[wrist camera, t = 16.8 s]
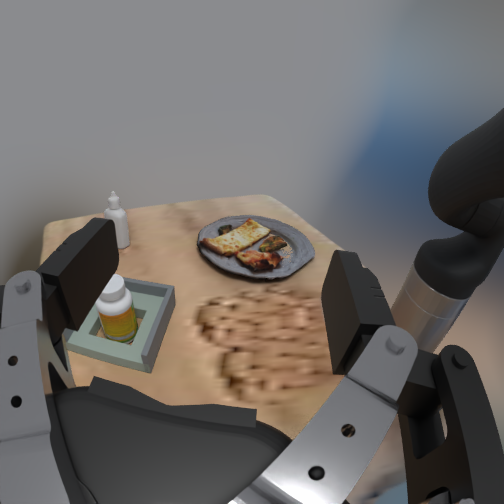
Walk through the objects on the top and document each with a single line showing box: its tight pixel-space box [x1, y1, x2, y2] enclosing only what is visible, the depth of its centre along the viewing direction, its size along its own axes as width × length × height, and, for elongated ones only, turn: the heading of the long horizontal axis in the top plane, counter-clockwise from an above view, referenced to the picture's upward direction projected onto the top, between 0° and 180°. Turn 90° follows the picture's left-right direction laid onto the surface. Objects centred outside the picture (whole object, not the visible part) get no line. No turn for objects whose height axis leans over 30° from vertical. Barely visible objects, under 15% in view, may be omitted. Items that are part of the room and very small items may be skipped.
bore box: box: [63, 277, 175, 373], centre depth 40 cm, size 14×14×4 cm
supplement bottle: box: [95, 274, 138, 344], centre depth 37 cm, size 5×5×10 cm
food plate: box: [197, 215, 315, 281], centre depth 63 cm, size 25×23×4 cm
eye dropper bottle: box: [104, 191, 130, 249], centre depth 56 cm, size 4×6×12 cm
